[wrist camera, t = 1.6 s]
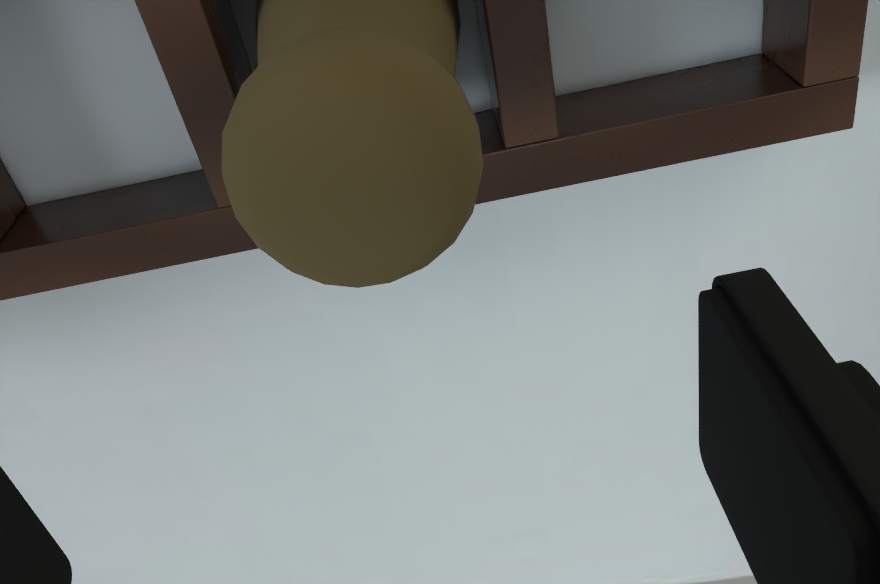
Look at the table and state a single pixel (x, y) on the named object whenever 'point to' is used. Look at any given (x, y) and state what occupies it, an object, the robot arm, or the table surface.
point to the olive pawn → (353, 138)
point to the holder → (501, 130)
